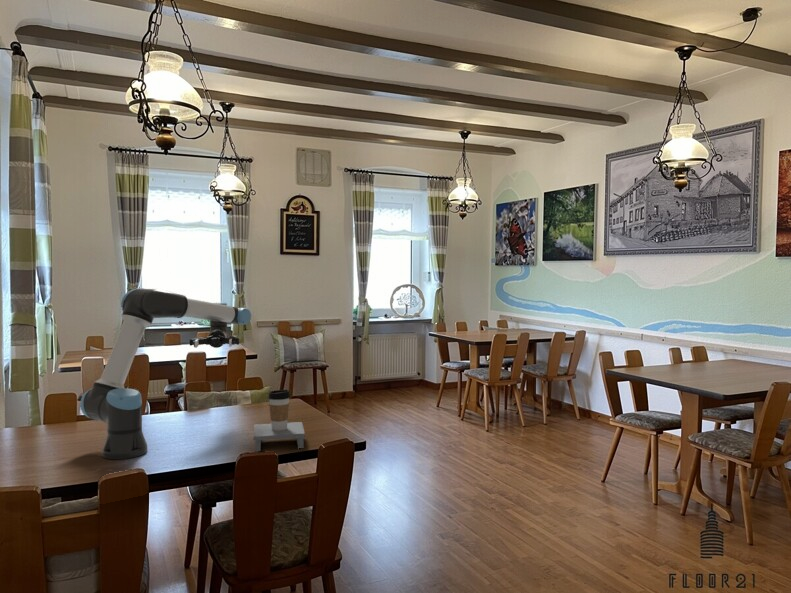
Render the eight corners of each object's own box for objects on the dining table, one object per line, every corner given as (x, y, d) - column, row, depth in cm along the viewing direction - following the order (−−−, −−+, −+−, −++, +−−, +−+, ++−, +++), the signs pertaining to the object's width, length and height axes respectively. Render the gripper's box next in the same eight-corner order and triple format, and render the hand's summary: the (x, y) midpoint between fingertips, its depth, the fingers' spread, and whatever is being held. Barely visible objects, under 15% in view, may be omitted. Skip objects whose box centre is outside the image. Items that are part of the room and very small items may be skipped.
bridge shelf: (253, 452, 216) (253, 436, 216) (254, 439, 234) (254, 424, 233) (304, 449, 220) (304, 433, 220) (301, 436, 238) (301, 421, 238)
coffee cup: (285, 432, 222) (285, 393, 222) (264, 430, 224) (264, 392, 223) (293, 426, 230) (293, 389, 230) (273, 425, 232) (273, 388, 231)
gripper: (245, 346, 262) (244, 352, 241) (187, 347, 256) (181, 353, 236) (245, 329, 261) (244, 334, 241) (187, 330, 256) (180, 335, 235)
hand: (213, 343), depth 238 cm, fingers open, 13 cm apart
